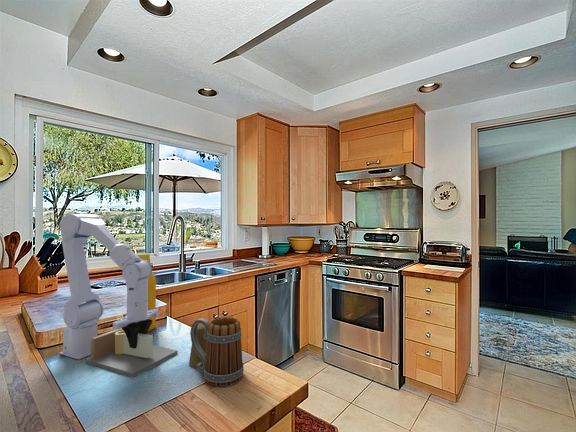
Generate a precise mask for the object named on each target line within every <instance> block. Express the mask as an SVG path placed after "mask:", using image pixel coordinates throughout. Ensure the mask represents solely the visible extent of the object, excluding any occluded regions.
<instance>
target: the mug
mask: <svg viewBox="0 0 576 432" xmlns="http://www.w3.org/2000/svg"><path fill="white" fill-rule="evenodd" d="M200 324H203V325H204V326H205V329H206V333H205V335H204V336H203V337H204V338H205V339H206V338H207V348H206V353H205V352H204V351H203V349H202V348H201V346H200V345H199V342H198V339H197V326H198V325H200ZM189 336H190V341H191V346H192V345H193V348H194V349H195V351H196V353H197V354H198V355H199V357H200V358H201V360H202V362H200V363H198V364H197V368H196V369H198V371H199V372H203V380H204V382H206V384H208V385H210V386H211V387H217V388H218V387H219V388H223V387H229V386H232V385H235V384H237V383H238V382H239V381H240V380H241V379H243V376H244V367H245V366H244V363H243V347H242V328H241V322H240V319H238V318H237V317H233V316H229V317H228V316H222V317H216V318H213V319H210V321H209V320H208V319H206V318H202V317H201V318H199V319H196V320H195V321H193V322H192V324H191V326H190V335H189Z"/></svg>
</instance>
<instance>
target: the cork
mask: <svg viewBox="0 0 576 432" xmlns="http://www.w3.org/2000/svg"><path fill="white" fill-rule="evenodd" d="M205 333H206V329H205V326H204V325H203V324H198V326H197V339H198V342H199V345H200V346H201V348H202V349H203V351H204V352H205V353H206V348H207V338H206V339H205V338H204V337H203V336H204V335H205ZM189 353H190V354H189V361H188V366H189V367H190V368H193V369H194V368H195V369H198V368H197V364H198V363H200V362H202V360H201V358H200V357H199V355H198V354H197V353H196V351H195V349H194V348H193V345H192V344H191V348H190V352H189Z"/></svg>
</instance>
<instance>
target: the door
mask: <svg viewBox="0 0 576 432" xmlns="http://www.w3.org/2000/svg"><path fill="white" fill-rule="evenodd" d="M153 337H154V336H153V334H141V333H138V337H137V347H136V348H135V349H134V348H130V346H129V342H128V339H127V336H126V334H125V332H124V331H123V330H122V331H118V332H116V333H115V354H118V355H119V354H128V355H133V356H138V357H143V358H149V357H151V356H153V345H154V343H153V342H154V341H153Z"/></svg>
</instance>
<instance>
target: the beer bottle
mask: <svg viewBox="0 0 576 432" xmlns="http://www.w3.org/2000/svg"><path fill="white" fill-rule="evenodd" d="M136 255H137V256H139V257H140V259H142V260H147V261H149V263H150V264H151V257H150V256H151V255H150V253H138V254H136ZM156 292H157V281H156V277H155V274H154V272H153V271H152V274H151V275H150V277H148V311H149V310H153V309H156V307H157V306H156V305H157V302H156V301H157V293H156ZM156 318H157V316H154V317H151V318H149V320H152V324H151V326H150V328H149V330H148V332H150V331H152V330H154V329H155V328H156V322H157V321H156Z"/></svg>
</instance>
